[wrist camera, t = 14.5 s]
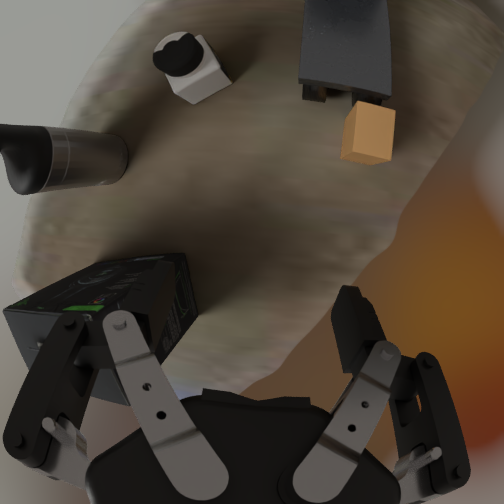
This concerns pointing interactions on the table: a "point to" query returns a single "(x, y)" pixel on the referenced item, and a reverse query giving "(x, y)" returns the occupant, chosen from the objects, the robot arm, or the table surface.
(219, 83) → the medicine bottle
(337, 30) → the trolley
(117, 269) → the headset box
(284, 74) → the table surface
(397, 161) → the table surface
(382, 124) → the light orange block
